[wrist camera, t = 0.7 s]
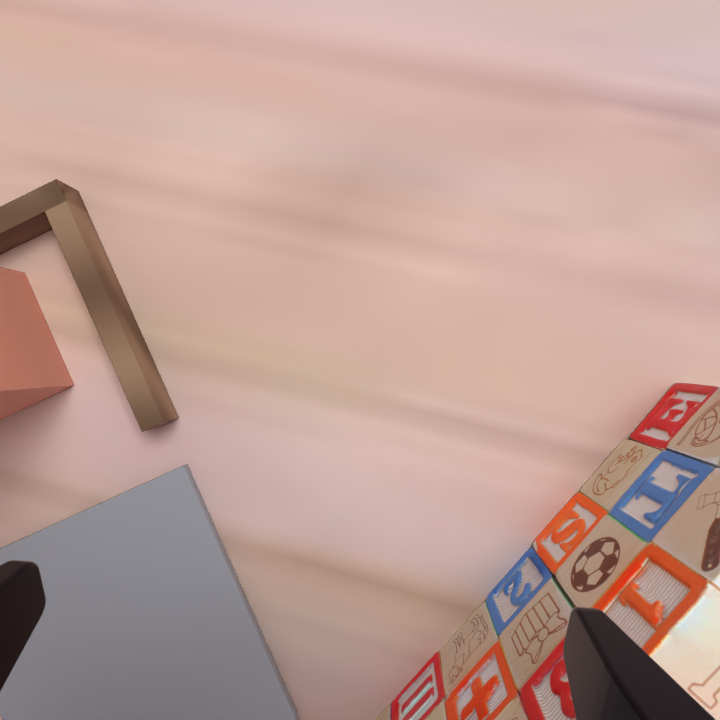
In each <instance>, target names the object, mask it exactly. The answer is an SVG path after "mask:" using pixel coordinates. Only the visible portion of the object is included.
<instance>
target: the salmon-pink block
mask: <svg viewBox="0 0 720 720" xmlns="http://www.w3.org/2000/svg"><path fill="white" fill-rule="evenodd" d="M71 386H74V384H73V381H72V379H71V377H70V375H69V372H68V370H67V368H66V365H65V363H64V361H63V359H62V356H61V354H60V352H59V350H58V347H57V345H56V343H55V340H54V338H53V336H52V334H51V331H50V329H49V327H48V324H47V322H46V320H45V318H44V315H43V313H42V311H41V308H40V306H39V304H38V302H37V299H36V297H35V295H34V292H33V290H32V288H31V286H30V283H29V281H28V279H27V277H26V274H25V273H23V272H19V271H15V270H11V269H6V268H2V267H0V420H1V419H3V418H5V417H7V416H9V415H12V414H14V413H16V412H18V411H20V410H22V409H24V408H27V407H29V406H31V405H33V404H35V403H37V402H39V401H42V400H44V399H46V398H48V397H50V396H52V395H54V394H56V393H59V392H61V391H63V390H65V389H67V388H69V387H71Z"/></svg>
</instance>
